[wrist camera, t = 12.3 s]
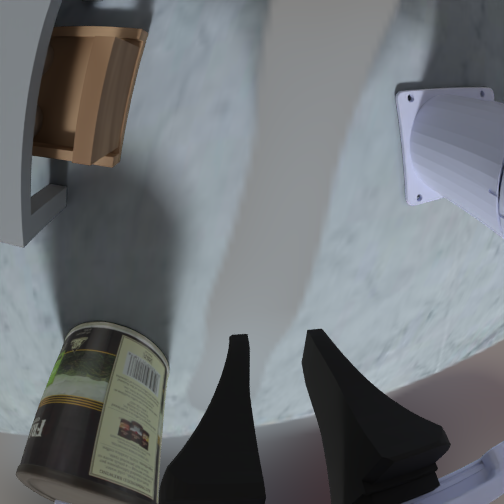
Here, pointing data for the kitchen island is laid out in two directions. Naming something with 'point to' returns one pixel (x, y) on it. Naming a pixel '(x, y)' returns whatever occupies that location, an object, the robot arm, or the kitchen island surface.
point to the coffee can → (99, 420)
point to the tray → (87, 93)
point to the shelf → (23, 118)
